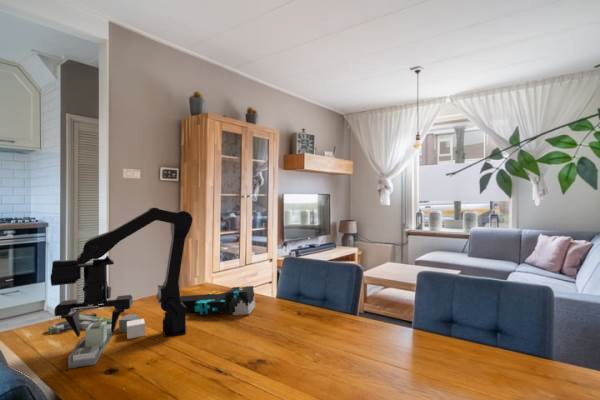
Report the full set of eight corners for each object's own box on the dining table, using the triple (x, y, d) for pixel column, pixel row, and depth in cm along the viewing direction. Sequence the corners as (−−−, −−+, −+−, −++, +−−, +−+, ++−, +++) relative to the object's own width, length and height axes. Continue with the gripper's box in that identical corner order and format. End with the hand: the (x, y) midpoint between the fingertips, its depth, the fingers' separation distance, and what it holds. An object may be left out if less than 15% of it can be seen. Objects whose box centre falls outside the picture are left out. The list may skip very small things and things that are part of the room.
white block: (138, 325, 113) (138, 314, 113) (131, 331, 108) (131, 319, 108) (126, 326, 113) (126, 314, 112) (119, 332, 108) (119, 319, 107)
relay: (144, 330, 109) (143, 318, 109) (144, 336, 104) (144, 323, 104) (126, 333, 106) (126, 321, 106) (127, 339, 102) (127, 326, 102)
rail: (114, 332, 107) (114, 321, 107) (95, 364, 86) (94, 351, 86) (93, 334, 105) (93, 324, 105) (68, 368, 84) (68, 355, 84)
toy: (185, 288, 138) (255, 283, 134) (187, 308, 138) (257, 304, 134) (165, 299, 123) (244, 294, 118) (167, 321, 122) (246, 317, 118)
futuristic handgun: (83, 333, 101) (123, 315, 115) (40, 326, 107) (84, 310, 121) (83, 342, 101) (123, 323, 116) (41, 334, 107) (84, 317, 121)
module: (106, 337, 99) (106, 319, 99) (101, 346, 94) (101, 327, 93) (91, 339, 98) (91, 321, 98) (85, 348, 92) (85, 329, 92)
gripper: (135, 272, 106) (135, 320, 106) (68, 277, 100) (68, 328, 101) (129, 280, 96) (129, 334, 96) (53, 286, 90) (53, 343, 90)
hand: (95, 334), depth 96 cm, fingers open, 8 cm apart
